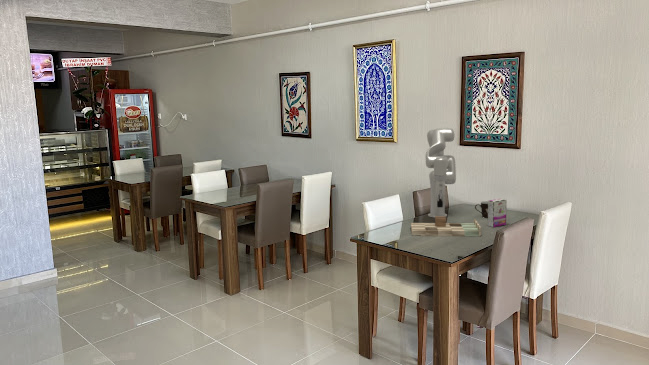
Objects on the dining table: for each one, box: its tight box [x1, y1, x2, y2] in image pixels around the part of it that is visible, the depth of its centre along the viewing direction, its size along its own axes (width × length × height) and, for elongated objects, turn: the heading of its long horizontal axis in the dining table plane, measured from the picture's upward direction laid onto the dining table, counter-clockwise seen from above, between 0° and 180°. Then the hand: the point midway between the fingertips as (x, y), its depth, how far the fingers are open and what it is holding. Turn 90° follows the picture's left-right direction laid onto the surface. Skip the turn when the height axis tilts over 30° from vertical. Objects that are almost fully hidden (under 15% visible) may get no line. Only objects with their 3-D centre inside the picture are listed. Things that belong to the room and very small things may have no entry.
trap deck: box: [410, 219, 482, 237], centre depth 291 cm, size 19×39×6 cm, turn 82°
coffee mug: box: [474, 200, 489, 219], centre depth 326 cm, size 12×9×10 cm
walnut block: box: [434, 216, 447, 227], centre depth 295 cm, size 6×6×5 cm
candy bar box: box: [487, 198, 507, 228], centre depth 302 cm, size 11×5×16 cm, turn 118°
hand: (439, 207), depth 302 cm, fingers closed
